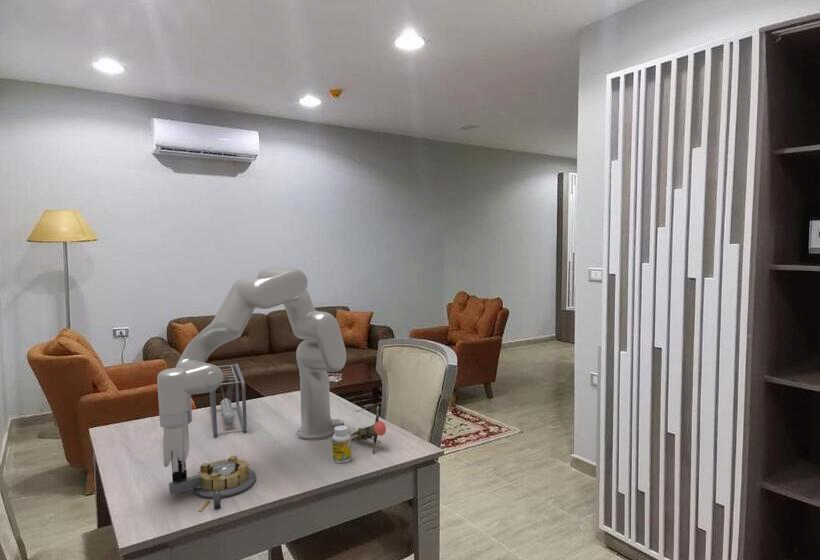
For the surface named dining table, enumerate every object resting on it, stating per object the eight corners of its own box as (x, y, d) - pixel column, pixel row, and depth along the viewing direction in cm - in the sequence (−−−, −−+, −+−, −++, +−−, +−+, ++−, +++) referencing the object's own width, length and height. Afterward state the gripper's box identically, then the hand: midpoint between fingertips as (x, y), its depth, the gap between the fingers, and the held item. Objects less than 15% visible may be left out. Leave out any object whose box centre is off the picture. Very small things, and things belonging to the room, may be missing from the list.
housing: (257, 467, 147) (256, 450, 147) (253, 505, 127) (252, 485, 126) (197, 474, 143) (196, 456, 143) (183, 514, 123) (182, 493, 122)
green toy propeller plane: (364, 465, 166) (405, 455, 153) (339, 458, 161) (379, 447, 148) (370, 416, 175) (408, 403, 162) (346, 408, 170) (384, 393, 157)
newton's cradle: (247, 433, 173) (245, 381, 172) (213, 438, 169) (211, 385, 168) (239, 406, 201) (237, 362, 199) (210, 410, 197) (208, 364, 195)
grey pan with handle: (238, 464, 146) (238, 451, 146) (256, 480, 136) (255, 466, 136) (163, 486, 134) (163, 472, 134) (176, 505, 124) (176, 490, 124)
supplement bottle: (354, 456, 154) (353, 425, 153) (346, 464, 149) (345, 432, 148) (337, 454, 155) (336, 423, 155) (329, 462, 150) (328, 430, 150)
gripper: (165, 409, 138) (169, 475, 140) (153, 429, 124) (158, 502, 125) (195, 406, 140) (199, 471, 142) (187, 425, 126) (192, 498, 127)
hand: (180, 486), depth 134 cm, fingers closed
